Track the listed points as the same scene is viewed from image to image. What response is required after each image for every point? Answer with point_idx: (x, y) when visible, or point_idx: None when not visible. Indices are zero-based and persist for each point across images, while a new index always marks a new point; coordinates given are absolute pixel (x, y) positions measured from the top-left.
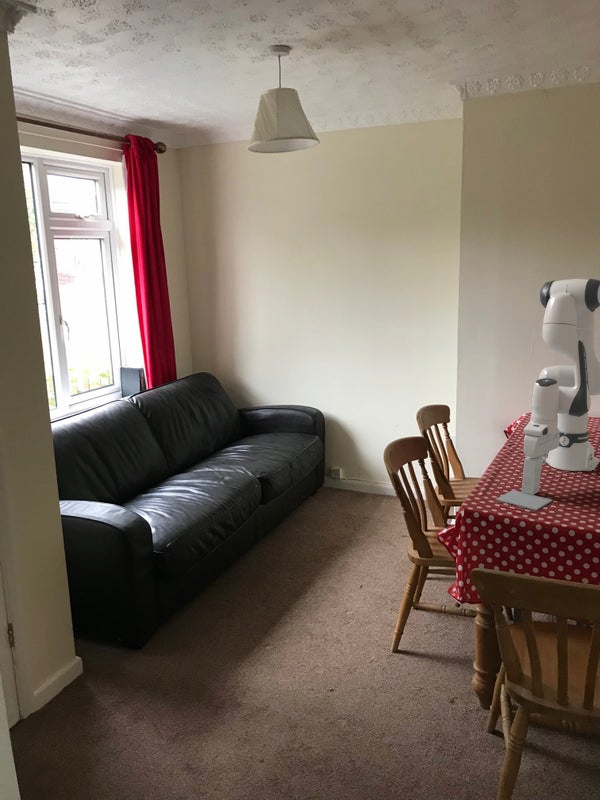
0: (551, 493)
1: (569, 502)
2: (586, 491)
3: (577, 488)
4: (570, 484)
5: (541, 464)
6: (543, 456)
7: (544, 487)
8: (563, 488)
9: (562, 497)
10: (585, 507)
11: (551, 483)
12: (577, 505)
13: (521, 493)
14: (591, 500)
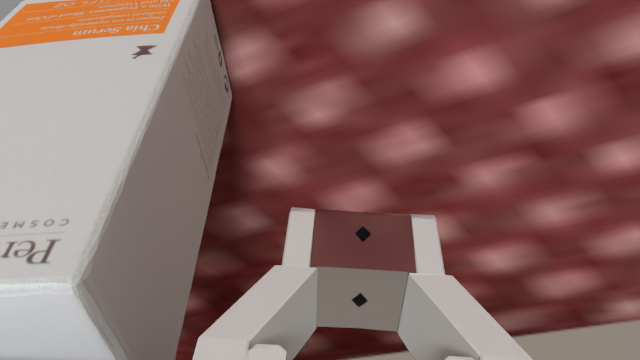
0: (278, 176)
1: (196, 295)
2: (490, 313)
3: (530, 267)
4: (618, 212)
5: (178, 324)
6: (434, 352)
7: (399, 83)
8: (470, 203)
9: (252, 249)
10: (191, 356)
11: (572, 90)
12: (185, 329)
13: (6, 7)
14: (328, 355)
